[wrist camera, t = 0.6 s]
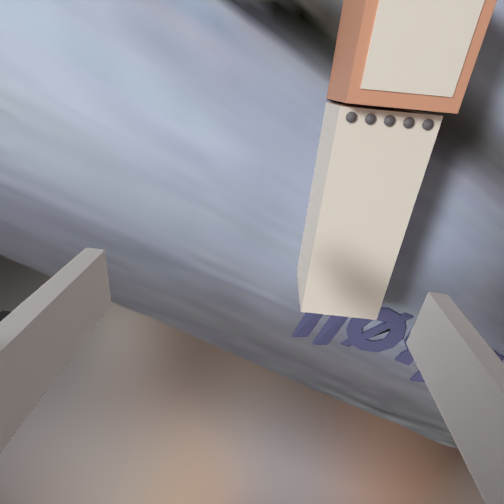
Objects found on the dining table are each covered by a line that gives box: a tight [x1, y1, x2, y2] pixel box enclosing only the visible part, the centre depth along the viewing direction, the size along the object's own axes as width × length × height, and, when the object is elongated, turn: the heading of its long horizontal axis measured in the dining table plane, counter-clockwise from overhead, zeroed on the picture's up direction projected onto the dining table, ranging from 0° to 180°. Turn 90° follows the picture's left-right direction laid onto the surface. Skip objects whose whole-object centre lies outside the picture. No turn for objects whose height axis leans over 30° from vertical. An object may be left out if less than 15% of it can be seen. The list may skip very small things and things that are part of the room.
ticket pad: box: [297, 102, 443, 320], centre depth 33 cm, size 20×8×8 cm, turn 175°
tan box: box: [327, 0, 497, 114], centre depth 25 cm, size 10×8×10 cm
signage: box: [292, 307, 504, 382], centre depth 46 cm, size 28×1×10 cm
